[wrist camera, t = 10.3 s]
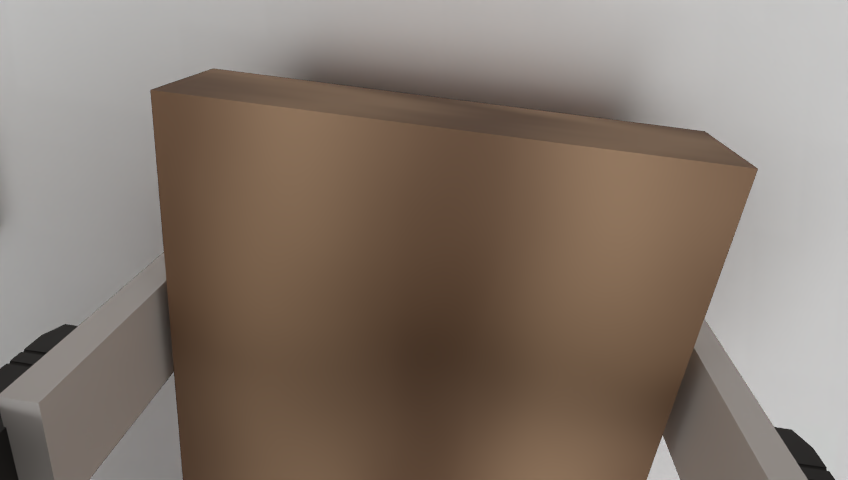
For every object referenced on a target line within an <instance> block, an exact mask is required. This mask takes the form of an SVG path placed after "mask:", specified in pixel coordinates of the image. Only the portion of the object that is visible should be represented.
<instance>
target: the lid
mask: <svg viewBox="0 0 848 480" xmlns="http://www.w3.org/2000/svg"><path fill="white" fill-rule="evenodd" d="M151 102H152V114H153V126H154V138H155V150H156V162H157V174H158V186H159V198H160V210H161V222H162V234H163V246H164V258H165V270H166V282H167V294H168V306H169V318H170V330H171V342H172V354H173V365H174V377H175V389H176V401H177V413H178V425H179V437H180V449H181V461H182V473H183V480H646V479H647V477H648V474H649V471H650V468H651V466H652V463H653V460H654V457H655V454H656V452H657V449H658V446H659V443H660V440H661V438H662V435H663V432H664V429H665V427H666V424H667V421H668V418H669V415H670V413H671V410H672V407H673V404H674V401H675V399H676V396H677V393H678V390H679V388H680V385H681V382H682V379H683V376H684V374H685V371H686V368H687V365H688V362H689V360H690V357H691V354H692V351H693V349H694V346H695V343H696V340H697V337H698V335H699V332H700V329H701V326H702V323H703V321H704V318H705V315H706V312H707V310H708V307H709V304H710V301H711V298H712V296H713V293H714V290H715V287H716V284H717V282H718V279H719V276H720V273H721V270H722V268H723V265H724V262H725V259H726V257H727V254H728V251H729V248H730V245H731V243H732V240H733V237H734V234H735V231H736V229H737V226H738V223H739V220H740V218H741V215H742V212H743V209H744V206H745V204H746V201H747V198H748V195H749V192H750V190H751V187H752V184H753V181H754V179H755V176H756V173H757V170H758V169H757V168H756V167H755V166H753V165H752V164H750V163H749V162H748V161H746V160H745V159H743V158H742V157H740V156H739V155H738V154H736V153H735V152H733V151H732V150H730V149H729V148H728V147H726V146H725V145H723V144H722V143H721V142H719V141H718V140H716V139H715V138H713V137H712V136H711V135H709V134H708V133H706V132H705V131H697V130H690V129H682V128H674V127H666V126H658V125H651V124H643V123H635V122H627V121H619V120H611V119H604V118H596V117H588V116H580V115H572V114H564V113H557V112H549V111H541V110H533V109H525V108H518V107H510V106H502V105H494V104H486V103H478V102H471V101H463V100H455V99H447V98H439V97H431V96H424V95H416V94H408V93H400V92H392V91H385V90H377V89H369V88H361V87H353V86H345V85H338V84H330V83H322V82H314V81H306V80H299V79H291V78H283V77H275V76H267V75H259V74H252V73H244V72H236V71H228V70H220V69H210V70H207V71H204V72H202V73H199V74H196V75H193V76H190V77H187V78H184V79H181V80H178V81H175V82H172V83H169V84H166V85H164V86H161V87H158V88H155V89H152V90H151Z"/></svg>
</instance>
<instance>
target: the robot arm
mask: <svg viewBox="0 0 848 480" xmlns="http://www.w3.org/2000/svg"><path fill="white" fill-rule="evenodd" d="M173 372H174V365H173V354H172V342H171V330H170V318H169V306H168V294H167V282H166V270H165V258H164V252H163V253H162V254H161V255H160V256H159V257H158V258H157V259H155V260H154V261H153V262H152V263H151V264H150V265H148V266H147V267H146V268H145V269H144V270H143V271H141V272H140V273H139V274H138V275H137V276H136V277H134V278H133V279H132V280H131V281H130V282H129V283H128V284H126V285H125V286H124V287H123V288H122V289H121V290H119V291H118V292H117V293H116V294H115V295H114V296H112V297H111V298H110V299H109V300H108V301H107V302H106V303H104V304H103V305H102V306H101V307H100V308H99V309H97V310H96V311H95V312H94V313H93V314H92V315H90V316H89V317H88V318H87V319H86V320H85V321H84V322H82V323H81V324H80V325H79V326H74V325H67V324H65V325H63V326H61V327H58V328H56V329H54V330H52V331H50V332H48V333H45V334H43V335H41V336H40V337H39V338H38V339H36V340H35V341H34V342H33V343H32V344H30V345H29V346H28V347H27V348H25V349H24V352H20V353H19V354H18V355H17V356H16V357H14V358H13V359H12V360H11V361H10V364H6V365H4V366H3V367H2V368H1V369H0V480H89V479H90V478H91V477H92V475H93V474H94V473H95V471H96V470H97V469H98V468H99V466H100V465H101V464H102V463H103V461H104V460H105V459H106V457H107V456H108V455H109V454H110V452H111V451H112V450H113V449H114V447H115V446H116V445H117V443H118V442H119V441H120V440H121V438H122V437H123V436H124V434H125V433H126V432H127V431H128V429H129V428H130V427H131V426H132V424H133V423H134V422H135V420H136V419H137V418H138V417H139V415H140V414H141V413H142V412H143V410H144V409H145V408H146V406H147V405H148V404H149V403H150V401H151V400H152V399H153V397H154V396H155V395H156V394H157V392H158V391H159V390H160V389H161V387H162V386H163V385H164V383H165V382H166V381H167V380H168V378H169V377H170V376H171V374H172V373H173ZM663 437H664V439H665V442H666V444H667V447H668V449H669V452H670V455H671V457H672V460H673V462H674V465H675V467H676V470H677V472H678V475H679V478H680V480H835V479H834V478H833V476H832V475H831V473H830V472H829V471H827V470H826V468H827V467H826V466H825V465H824V463H823V462H822V460H821V459H820V457H819V456H818V455H817V453H816V452H815V450H814V449H813V448H812V447H811V446H810V445H809V444H808V443H807V442H805V441H804V440H803V439H802V438H801V437H800V436H798V435H797V434H796V433H795V432H794V431H793V430H790V429H783V428H777V427H774V426H773V425H772V423H771V422H770V420H769V418H768V417H767V415H766V414H765V412H764V411H763V409H762V408H761V406H760V404H759V403H758V401H757V400H756V398H755V397H754V395H753V394H752V392H751V390H750V389H749V387H748V386H747V384H746V383H745V381H744V380H743V378H742V376H741V375H740V373H739V372H738V370H737V369H736V367H735V366H734V364H733V362H732V361H731V359H730V358H729V356H728V355H727V353H726V352H725V350H724V348H723V347H722V345H721V344H720V342H719V341H718V339H717V338H716V336H715V334H714V333H713V331H712V330H711V328H710V327H709V325H708V324H707V322H706V321H705V319H704V321H703V323H702V326H701V329H700V332H699V335H698V337H697V340H696V343H695V346H694V349H693V351H692V354H691V357H690V360H689V362H688V365H687V368H686V371H685V374H684V376H683V379H682V382H681V385H680V388H679V390H678V393H677V396H676V399H675V401H674V404H673V407H672V410H671V413H670V415H669V418H668V421H667V424H666V427H665V429H664V432H663Z"/></svg>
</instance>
